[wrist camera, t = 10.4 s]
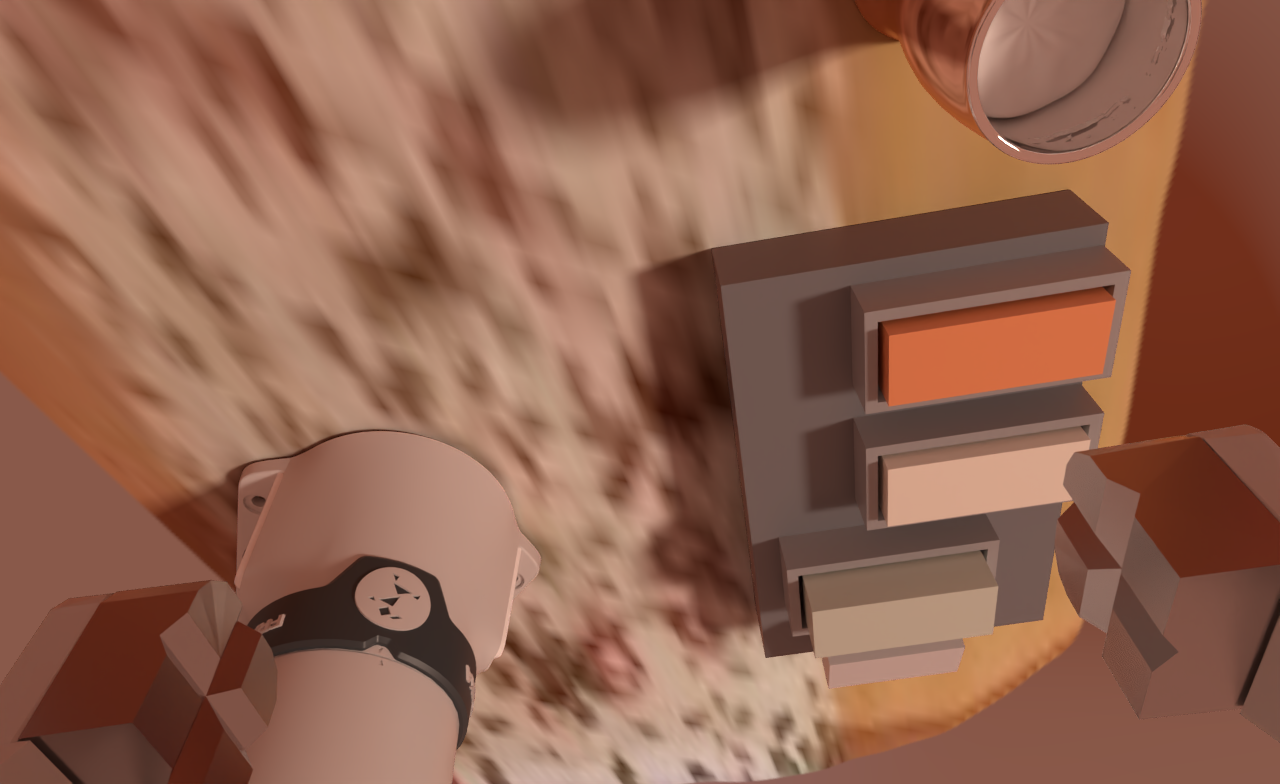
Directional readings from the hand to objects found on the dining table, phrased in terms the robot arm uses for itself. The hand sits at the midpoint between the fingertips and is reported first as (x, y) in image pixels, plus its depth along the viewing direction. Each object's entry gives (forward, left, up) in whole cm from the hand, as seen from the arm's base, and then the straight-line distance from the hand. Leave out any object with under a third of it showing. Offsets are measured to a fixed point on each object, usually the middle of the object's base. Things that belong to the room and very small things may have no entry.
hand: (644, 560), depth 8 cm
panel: (-16, -26, -34) cm, 46 cm away
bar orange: (-6, -22, -30) cm, 38 cm away
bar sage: (-21, -28, -28) cm, 45 cm away
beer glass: (+6, -12, -34) cm, 37 cm away
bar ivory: (-12, -27, -30) cm, 42 cm away
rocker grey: (-26, -32, -28) cm, 50 cm away
